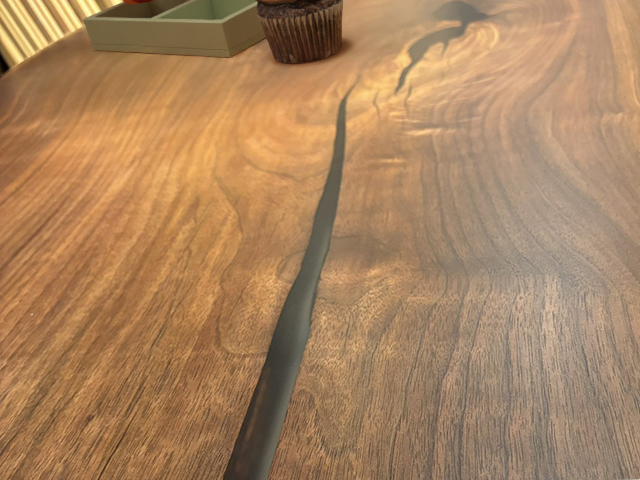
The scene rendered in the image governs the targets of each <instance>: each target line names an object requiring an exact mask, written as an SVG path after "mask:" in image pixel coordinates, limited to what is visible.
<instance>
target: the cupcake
mask: <svg viewBox="0 0 640 480" xmlns="http://www.w3.org/2000/svg"><path fill="white" fill-rule="evenodd" d="M255 1H257V2H258V3H257V16H258V19H259V22H260V24H261V26H262V28H263V31H264V33H265V36H266V37H265V39H266V41H267V44H268V46H269V48H270V51H271V54H272V56H273V58H274V59H275V60H276V61H277V62H280V63H283V64H304V63H311V62H316V61H320V60H321V61H322V60H324V59H327V58H329V57H330V56H334V55H336V54H337V53H339V52H340V51H341V49H342V47H343V9H344V6H343V5H344V0H255Z"/></svg>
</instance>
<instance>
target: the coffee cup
mask: <svg viewBox="0 0 640 480" xmlns="http://www.w3.org/2000/svg"><path fill="white" fill-rule="evenodd" d="M150 1H154V0H122V2H124V3H126V4H139V3H146V2H150Z"/></svg>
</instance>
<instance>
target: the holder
mask: <svg viewBox="0 0 640 480" xmlns="http://www.w3.org/2000/svg"><path fill="white" fill-rule="evenodd" d="M257 3H258V2H257V1H255V0H154V1H150V2H146V3H139V4H126V3H124V1H122V2H119V3H117V4H115V5H113V6H109V7H108V8H105V9H103V10H101V11H98V12H96V13H93V14H91V15H89V16H87V17H84V18H82V21H83V22H82V23H83V24H84V27H85V29H86V32H87V35H88V38H89V41H90V43H91V47H92V49H93V51H101V52H102V51H104V52H119V53H120V52H122V53H141V54H156V55H157V54H159V55H177V56H193V57H195V56H196V57H197V56H198V57H213V58H232V57H234V56H236V55H237V54H239V53H241V52H243V51H244V50H246V49H248V48H250V47H252V46H253V45H255V44H257V43H258V42H260V41H262V40H264V39H266V36H265V33H264V31H263V28H262V26H261V24H260V22H259V19H258V16H257Z"/></svg>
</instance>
